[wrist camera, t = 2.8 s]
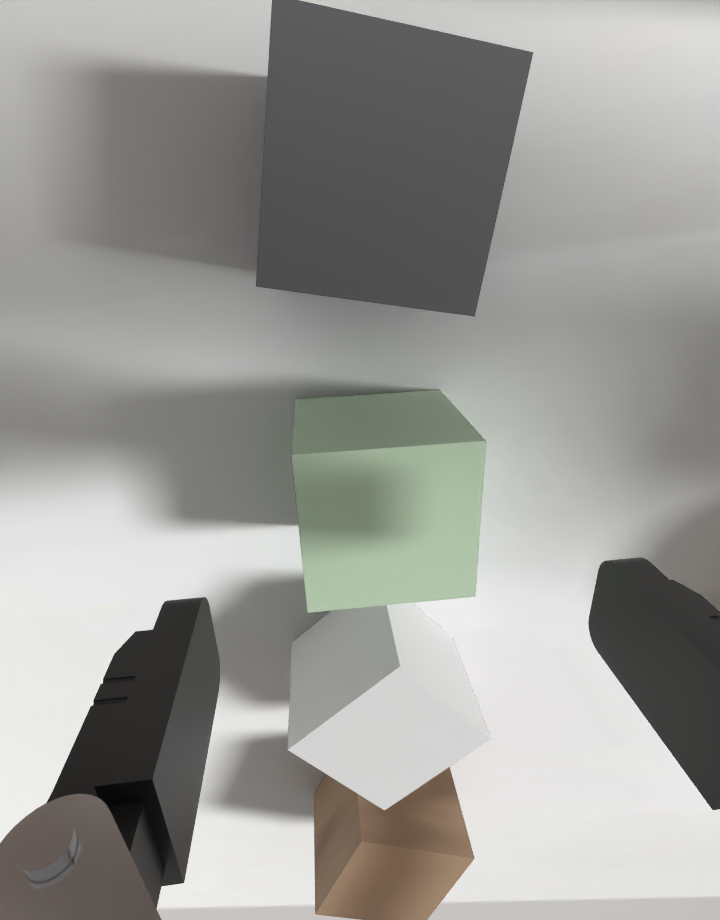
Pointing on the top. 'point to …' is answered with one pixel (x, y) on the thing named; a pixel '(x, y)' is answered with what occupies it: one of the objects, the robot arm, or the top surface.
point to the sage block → (386, 499)
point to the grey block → (381, 700)
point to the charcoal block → (383, 158)
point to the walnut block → (388, 851)
